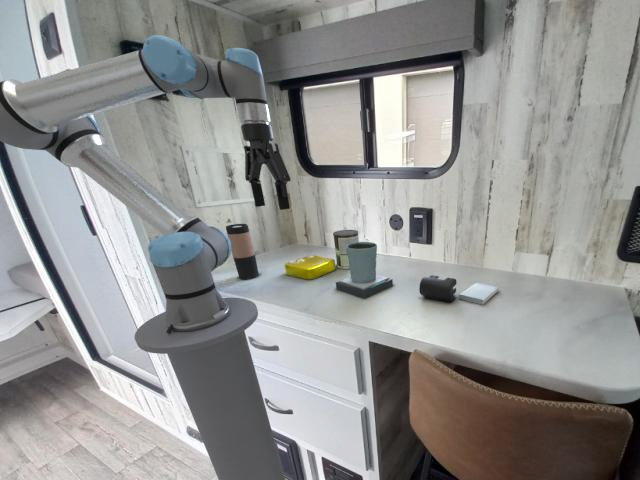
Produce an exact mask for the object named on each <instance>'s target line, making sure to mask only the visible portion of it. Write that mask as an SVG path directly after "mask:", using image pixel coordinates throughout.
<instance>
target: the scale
mask: <svg viewBox="0 0 640 480" xmlns="http://www.w3.org/2000/svg"><path fill="white" fill-rule="evenodd" d="M393 286H394V279H393V278H391V277H387V276H383V275H381V274H377V273H376V279H375V280H374V281H373V282H370V283H363V284H359V283H354V282H352V280H351V276H348V277H345V278H343V279H340V280H339V281H336V282H335V289H336V290H337V291H341V292H343V293H347V294H349V295H352V296H355V297H359V298H361V299H364V300H365V299H368V298H369V297H371V296H374V295H375V294H378V293H380V292H382V291H384V290H387V289H389V288H392V287H393Z"/></svg>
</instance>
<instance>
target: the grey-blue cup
mask: <svg viewBox="0 0 640 480" xmlns="http://www.w3.org/2000/svg"><path fill="white" fill-rule="evenodd" d="M346 249H347V255H348V259H349V260H348V261H349V268H350V269H349V270H350V271H349V273H350V277H351V280H352V282H354V283H359V284H363V283H370V282H373V281H374V280H375V279H376V274H377V253H378V244H377V243H375V242H371V241H359V242H355V243H350V244H348V245H346Z"/></svg>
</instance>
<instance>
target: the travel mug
mask: <svg viewBox="0 0 640 480" xmlns="http://www.w3.org/2000/svg"><path fill="white" fill-rule="evenodd" d="M225 230H226V231H225V232H226V235H227V236H228V238H229V240H230V242H231V254H232V258H233V262H234V266H235V268H236V272H237V275H238V278H239V279H240V280H245V281H246V280H253V279H255V278H258V277H259V276H260V273H259V269H258V268H259V267H258V264H257V258H256V254H255V253H256V252H255V249H254V245H253V241H252V237H251V233H250V229H249V225H248V224H247V223H236V224H235V223H234V224H229V225H226V226H225Z"/></svg>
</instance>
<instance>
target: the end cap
mask: <svg viewBox="0 0 640 480" xmlns="http://www.w3.org/2000/svg"><path fill="white" fill-rule="evenodd" d="M457 284H458V283H457V279H456V278H453V277H446V278H445V279H440V278H439V275H433V274H431V275H429V276H428V277H427V276H423V277H422V278H421V280H420V283H419V287H418V288H419V289H418V290H419V294H420V295H421V296H422V297H423V298H428V299H433V300H437V301H444V302H449V303H451V302H452V301H453V300H454V299H455V298H456V292H457V287H455V286H456V285H457Z"/></svg>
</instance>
